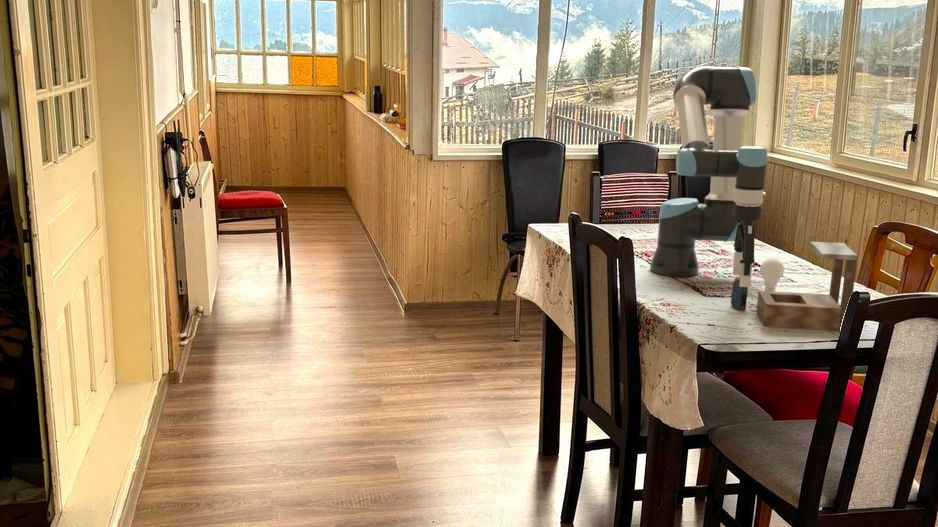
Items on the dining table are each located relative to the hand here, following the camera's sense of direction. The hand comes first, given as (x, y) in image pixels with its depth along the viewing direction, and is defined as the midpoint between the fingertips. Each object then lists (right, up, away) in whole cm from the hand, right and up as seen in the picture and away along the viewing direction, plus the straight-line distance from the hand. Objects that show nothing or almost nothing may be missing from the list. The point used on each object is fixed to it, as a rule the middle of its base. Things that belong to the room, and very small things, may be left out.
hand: (741, 280), depth 238 cm
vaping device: (0, -8, +2) cm, 8 cm away
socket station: (+13, -11, -9) cm, 19 cm away
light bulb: (+13, -5, +16) cm, 21 cm away
